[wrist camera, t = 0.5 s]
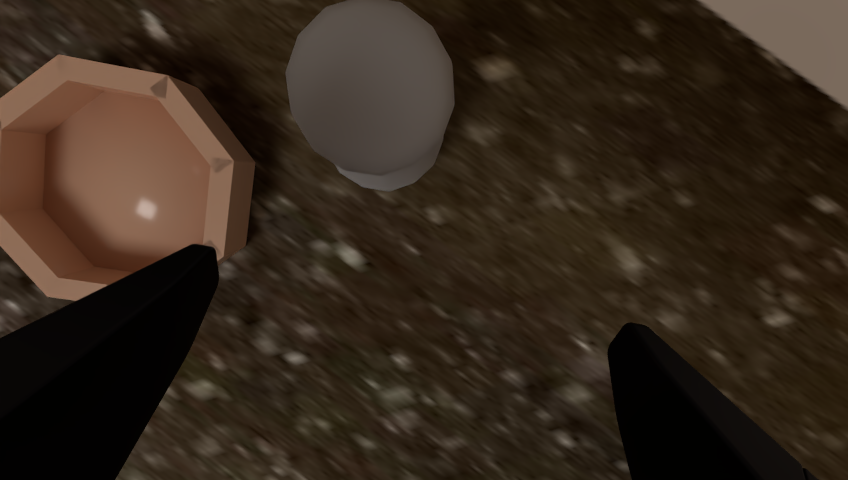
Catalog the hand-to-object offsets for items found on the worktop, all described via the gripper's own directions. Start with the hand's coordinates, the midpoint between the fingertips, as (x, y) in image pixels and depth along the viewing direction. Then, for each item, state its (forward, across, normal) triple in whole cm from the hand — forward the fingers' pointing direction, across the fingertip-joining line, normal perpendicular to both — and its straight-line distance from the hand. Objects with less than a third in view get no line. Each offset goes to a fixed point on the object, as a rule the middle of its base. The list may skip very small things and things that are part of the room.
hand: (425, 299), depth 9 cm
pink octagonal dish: (+12, +14, +8) cm, 20 cm away
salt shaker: (+15, +2, +3) cm, 15 cm away
